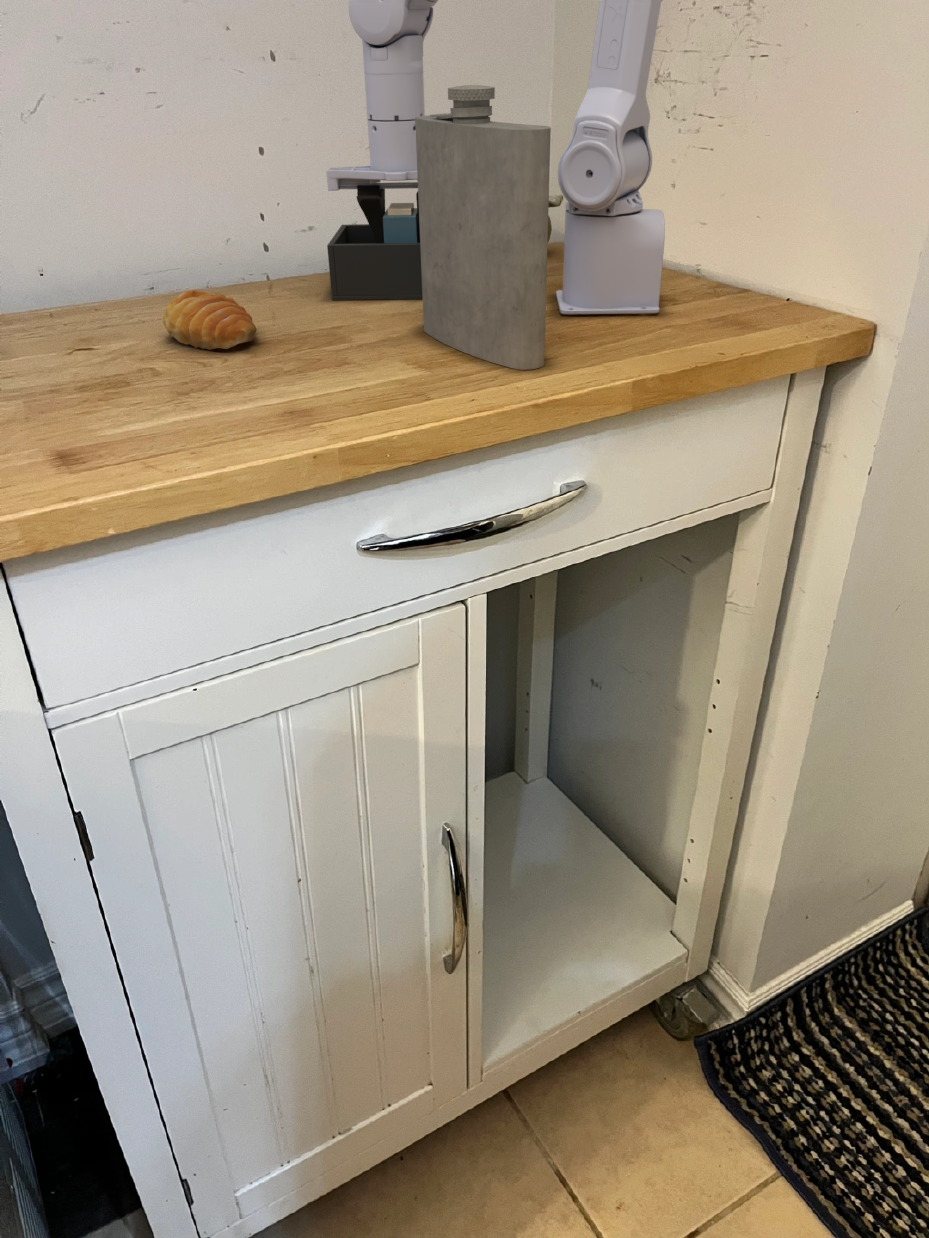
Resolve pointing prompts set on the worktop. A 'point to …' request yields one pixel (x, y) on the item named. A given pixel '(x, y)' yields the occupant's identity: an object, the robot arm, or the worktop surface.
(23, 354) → the worktop surface
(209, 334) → the pastry
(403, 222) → the juice carton
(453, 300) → the hip flask
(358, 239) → the bin
